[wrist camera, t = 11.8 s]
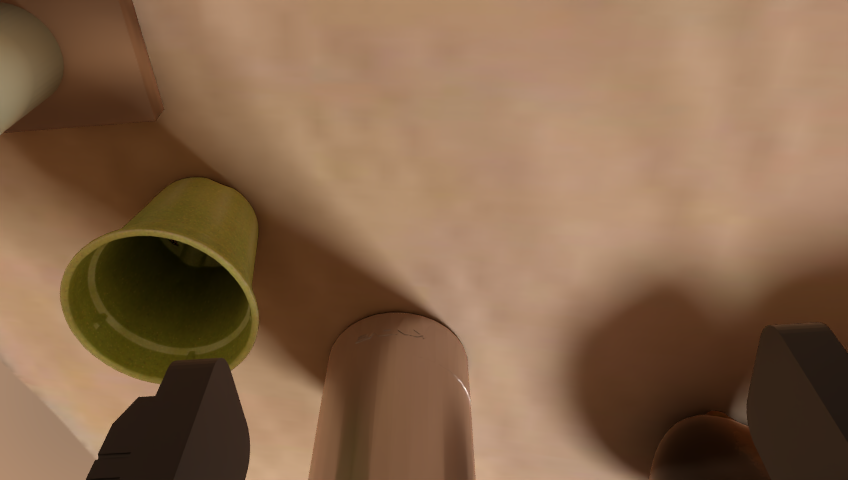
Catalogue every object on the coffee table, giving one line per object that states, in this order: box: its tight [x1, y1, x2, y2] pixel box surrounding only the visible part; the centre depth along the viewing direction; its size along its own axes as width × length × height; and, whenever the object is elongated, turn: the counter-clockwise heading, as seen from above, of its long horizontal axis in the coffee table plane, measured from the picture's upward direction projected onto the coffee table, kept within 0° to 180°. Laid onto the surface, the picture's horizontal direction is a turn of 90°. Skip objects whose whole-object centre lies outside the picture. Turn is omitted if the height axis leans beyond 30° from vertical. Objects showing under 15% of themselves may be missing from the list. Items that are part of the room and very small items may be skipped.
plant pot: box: [60, 177, 259, 384], centre depth 39 cm, size 9×9×9 cm
